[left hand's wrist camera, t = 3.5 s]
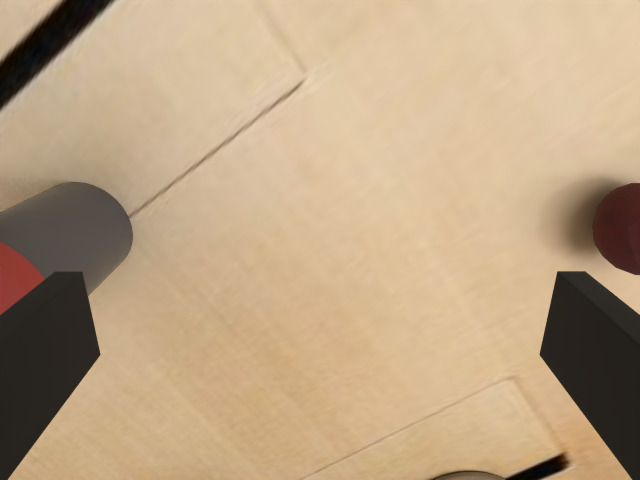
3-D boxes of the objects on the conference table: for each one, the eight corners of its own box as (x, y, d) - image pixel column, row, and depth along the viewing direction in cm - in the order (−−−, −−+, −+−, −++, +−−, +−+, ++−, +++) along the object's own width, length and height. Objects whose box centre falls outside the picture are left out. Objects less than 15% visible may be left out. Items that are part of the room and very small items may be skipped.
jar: (121, 284, 44) (23, 395, 29) (28, 254, 43) (-123, 354, 28) (142, 202, 41) (44, 281, 26) (42, 167, 40) (-119, 230, 25)
